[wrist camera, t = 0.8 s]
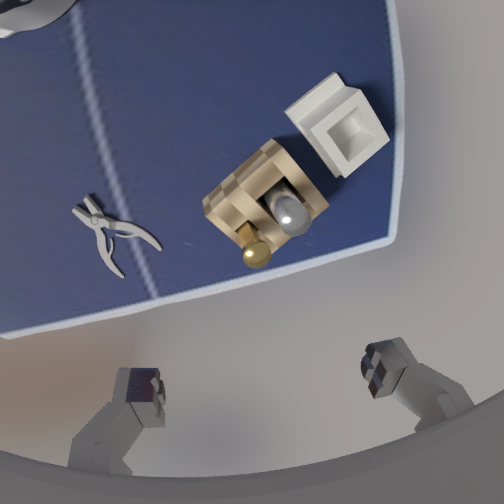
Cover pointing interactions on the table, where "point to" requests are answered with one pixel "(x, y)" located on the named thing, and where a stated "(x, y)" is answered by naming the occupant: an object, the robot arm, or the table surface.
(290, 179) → the socket block
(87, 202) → the pliers
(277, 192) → the grey rounded cylinder
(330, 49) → the table surface
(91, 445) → the robot arm
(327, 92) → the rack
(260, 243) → the key
